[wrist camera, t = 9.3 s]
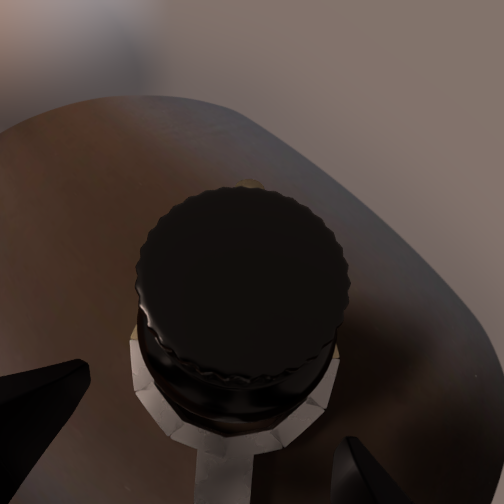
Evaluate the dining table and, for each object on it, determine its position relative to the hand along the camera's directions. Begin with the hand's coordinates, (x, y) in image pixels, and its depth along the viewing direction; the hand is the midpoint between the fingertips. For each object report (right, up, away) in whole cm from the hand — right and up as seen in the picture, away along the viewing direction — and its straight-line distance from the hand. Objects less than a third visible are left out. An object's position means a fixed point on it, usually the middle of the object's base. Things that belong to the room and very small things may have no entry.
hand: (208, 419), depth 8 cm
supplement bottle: (0, -1, +9) cm, 9 cm away
